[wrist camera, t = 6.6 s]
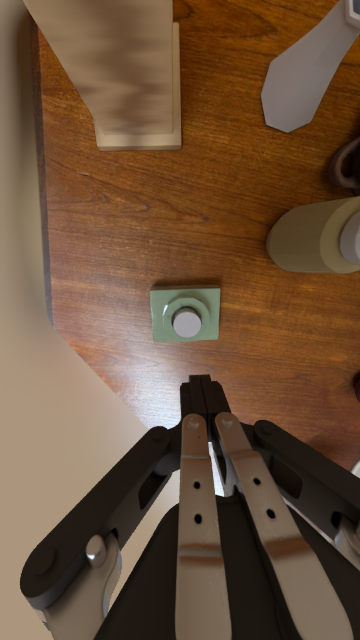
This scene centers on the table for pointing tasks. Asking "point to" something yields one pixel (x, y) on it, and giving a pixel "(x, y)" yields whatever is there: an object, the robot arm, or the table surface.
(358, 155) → the dish
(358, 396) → the apple
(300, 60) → the flask
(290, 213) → the squeeze bottle
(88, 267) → the table surface
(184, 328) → the grey push button
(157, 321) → the green button base
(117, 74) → the stand
